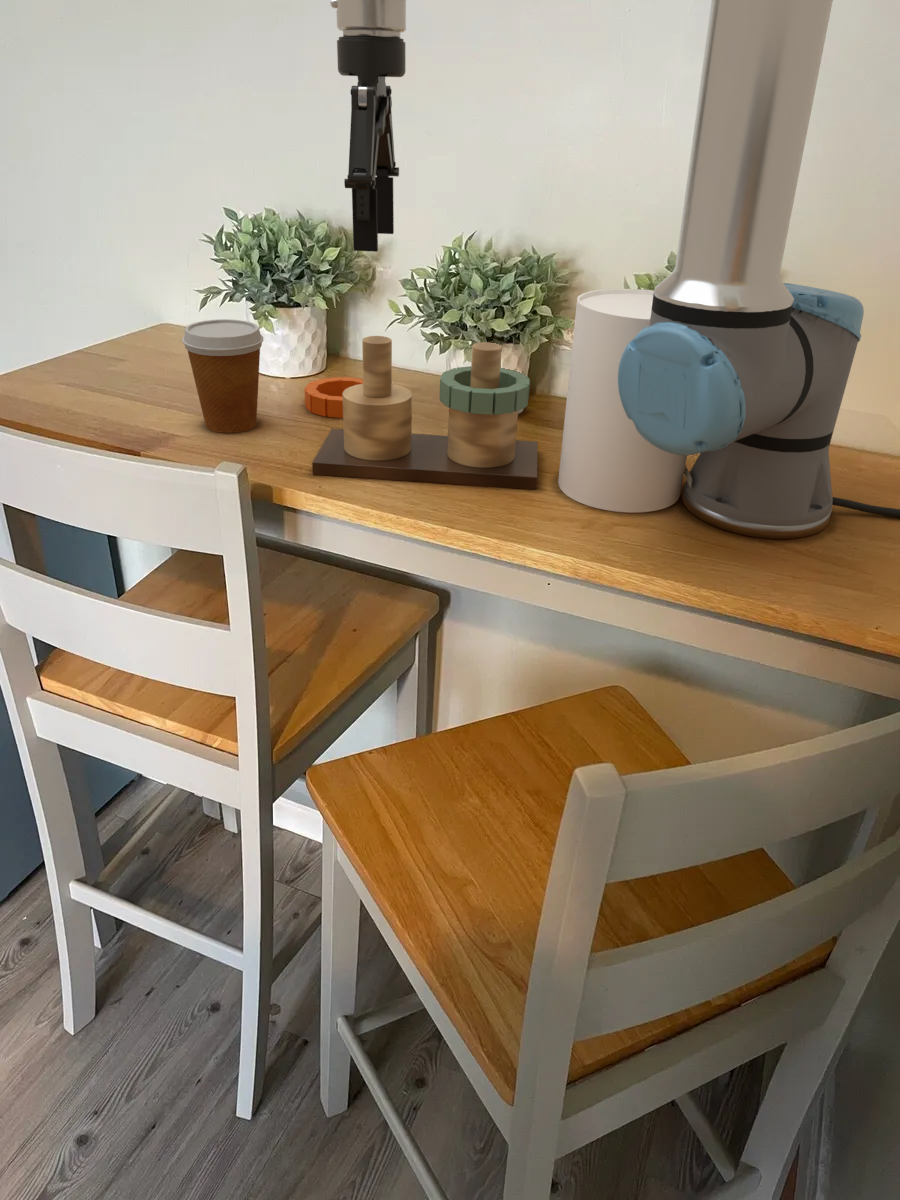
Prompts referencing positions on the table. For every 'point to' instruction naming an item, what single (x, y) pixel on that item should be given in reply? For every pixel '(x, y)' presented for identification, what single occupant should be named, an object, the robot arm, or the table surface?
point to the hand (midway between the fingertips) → (374, 241)
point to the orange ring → (328, 395)
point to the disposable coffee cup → (225, 371)
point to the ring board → (392, 452)
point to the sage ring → (484, 392)
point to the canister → (611, 414)
